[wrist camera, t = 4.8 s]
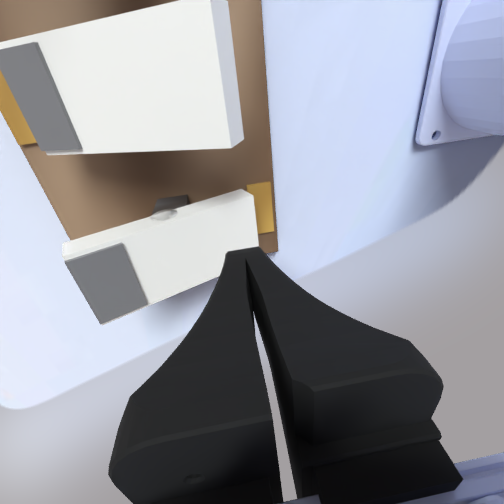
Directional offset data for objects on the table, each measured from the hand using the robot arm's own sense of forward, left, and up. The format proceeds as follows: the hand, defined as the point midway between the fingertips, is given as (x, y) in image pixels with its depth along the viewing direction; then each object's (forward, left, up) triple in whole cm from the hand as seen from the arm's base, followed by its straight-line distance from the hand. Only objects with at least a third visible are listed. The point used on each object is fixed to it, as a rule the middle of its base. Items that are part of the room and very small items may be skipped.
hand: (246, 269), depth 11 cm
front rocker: (+3, -6, -3) cm, 8 cm away
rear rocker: (+3, 0, -3) cm, 4 cm away
